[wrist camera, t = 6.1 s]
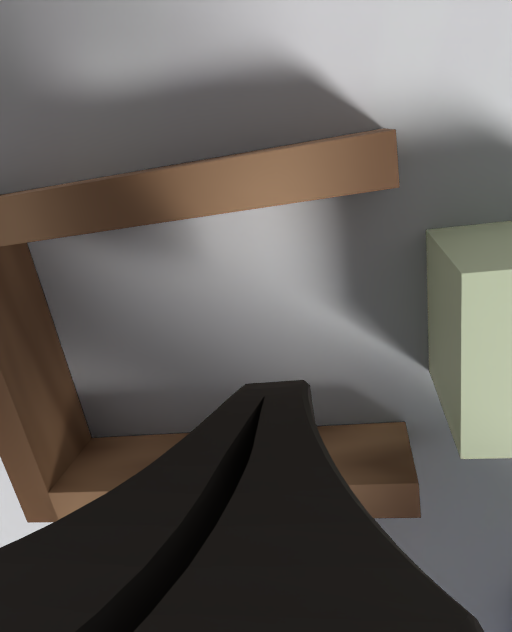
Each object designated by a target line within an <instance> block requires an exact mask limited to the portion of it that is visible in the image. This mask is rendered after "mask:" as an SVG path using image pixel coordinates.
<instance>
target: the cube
mask: <svg viewBox="0 0 512 632" xmlns="http://www.w3.org/2000/svg"><path fill="white" fill-rule="evenodd" d="M426 252H427V301H428V350H429V372H430V375H431V378H432V380H433V383H434V386H435V389H436V392H437V394H438V397H439V400H440V403H441V406H442V408H443V411H444V414H445V417H446V419H447V422H448V425H449V428H450V431H451V433H452V436H453V439H454V442H455V445H456V447H457V450H458V453H459V456H460V458H461V459H494V458H512V221H503V222H494V223H484V224H475V225H465V226H456V227H446V228H437V229H427V230H426Z"/></svg>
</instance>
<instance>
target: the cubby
mask: <svg viewBox="0 0 512 632" xmlns="http://www.w3.org/2000/svg"><path fill="white" fill-rule="evenodd" d="M392 188H399V172H398V157H397V141H396V130H395V129H385V128H383V129H377V130H372V131H366V132H360V133H354V134H349V135H343V136H337V137H331V138H326V139H320V140H314V141H308V142H302V143H297V144H291V145H285V146H279V147H274V148H268V149H262V150H256V151H251V152H245V153H239V154H233V155H227V156H222V157H216V158H210V159H204V160H199V161H193V162H187V163H181V164H176V165H170V166H164V167H158V168H152V169H147V170H141V171H135V172H129V173H124V174H118V175H112V176H106V177H101V178H95V179H89V180H83V181H77V182H72V183H66V184H60V185H54V186H49V187H43V188H37V189H31V190H26V191H20V192H14V193H8V194H2V195H0V457H1V459H2V462H3V464H4V466H5V469H6V471H7V474H8V476H9V478H10V481H11V483H12V486H13V488H14V491H15V493H16V495H17V498H18V500H19V503H20V505H21V508H22V510H23V512H24V515H25V517H26V520H27V522H56V521H57V520H59V519H61V518H63V517H65V516H66V515H68V514H70V513H72V512H74V511H75V510H77V509H79V508H81V507H83V506H84V505H86V504H88V503H90V502H92V501H93V500H95V499H97V498H99V497H101V496H102V495H104V494H106V493H107V492H109V491H111V490H112V489H114V488H115V487H117V486H118V485H120V484H121V483H123V482H125V481H126V480H128V479H129V478H131V477H132V476H134V475H135V474H137V473H138V472H140V471H141V470H143V469H144V468H145V467H147V466H148V465H150V464H151V463H152V462H154V461H155V460H156V459H158V458H159V457H160V456H162V455H163V454H164V453H165V452H167V451H168V450H169V449H170V448H172V447H173V446H174V445H175V444H177V443H178V442H179V441H180V440H182V439H183V438H184V437H185V436H187V435H188V434H189V433H178V434H159V435H140V436H120V437H101V438H91V435H90V432H89V429H88V426H87V423H86V420H85V417H84V414H83V411H82V408H81V404H80V401H79V398H78V395H77V392H76V389H75V386H74V383H73V380H72V377H71V374H70V371H69V368H68V365H67V362H66V359H65V356H64V353H63V350H62V347H61V344H60V341H59V338H58V335H57V332H56V329H55V326H54V323H53V320H52V317H51V314H50V311H49V308H48V305H47V302H46V299H45V296H44V293H43V290H42V287H41V284H40V281H39V278H38V275H37V272H36V269H35V266H34V263H33V260H32V257H31V254H30V251H29V248H28V245H27V242H34V241H41V240H47V239H54V238H61V237H68V236H74V235H81V234H88V233H95V232H101V231H108V230H115V229H122V228H128V227H135V226H142V225H149V224H155V223H162V222H169V221H176V220H183V219H189V218H196V217H203V216H210V215H216V214H223V213H230V212H237V211H243V210H250V209H257V208H264V207H270V206H277V205H284V204H291V203H297V202H304V201H311V200H318V199H324V198H331V197H338V196H345V195H351V194H358V193H365V192H372V191H378V190H385V189H392ZM317 428H318V431H319V433H320V436H321V438H322V440H323V442H324V444H325V446H326V448H327V450H328V452H329V454H330V456H331V458H332V460H333V461H334V463H335V465H336V467H337V468H338V470H339V472H340V473H341V475H342V476H343V478H344V479H345V481H346V482H347V484H348V485H349V487H350V488H351V490H352V491H353V493H354V494H355V495H356V497H357V498H358V499H359V501H360V502H361V504H362V505H363V506H364V508H365V509H366V510H367V511H368V513H369V514H370V515H371V516H372V517H373V518H421V512H420V496H419V483H418V478H417V473H416V469H415V464H414V460H413V455H412V451H411V446H410V442H409V437H408V432H407V428H406V423H405V422H392V423H373V424H353V425H334V426H317Z"/></svg>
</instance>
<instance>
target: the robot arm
mask: <svg viewBox="0 0 512 632" xmlns="http://www.w3.org/2000/svg"><path fill="white" fill-rule="evenodd" d="M0 632H484V631H483V629H482V627H481V625H480V624H479V622H478V620H477V619H476V618H475V617H474V616H473V615H472V614H470V613H469V612H468V611H467V610H466V609H465V608H463V607H462V606H461V605H460V604H459V603H458V602H456V601H455V600H454V599H453V598H452V597H450V596H449V595H448V594H447V593H446V592H445V591H444V590H443V589H442V588H440V587H439V586H438V585H437V584H436V583H435V582H434V581H433V580H432V579H431V578H429V577H428V576H427V575H426V574H425V573H424V572H423V571H422V570H421V569H420V568H419V567H418V566H417V565H416V564H415V563H414V562H413V561H412V560H411V559H410V558H409V557H408V556H407V555H406V554H405V553H404V552H403V551H402V550H401V549H400V548H399V547H398V546H397V545H396V544H395V542H394V541H393V540H392V539H391V538H390V537H389V536H388V534H387V533H386V532H385V531H384V530H383V529H382V528H381V526H380V525H379V524H378V523H377V522H376V521H375V519H374V518H373V517H372V516H371V515H370V514H369V513H368V511H367V510H366V509H365V508H364V506H363V505H362V504H361V502H360V501H359V499H358V498H357V497H356V495H355V494H354V493H353V491H352V490H351V488H350V487H349V485H348V484H347V482H346V481H345V479H344V478H343V476H342V475H341V473H340V472H339V470H338V468H337V467H336V465H335V463H334V461H333V460H332V458H331V456H330V454H329V452H328V450H327V448H326V446H325V444H324V442H323V440H322V438H321V436H320V433H319V431H318V428H317V426H316V423H315V418H314V411H313V404H312V397H311V390H310V385H309V384H308V383H307V382H306V381H304V380H296V381H282V382H268V383H253V384H245V385H244V386H243V387H241V388H240V389H239V390H238V391H237V392H235V393H234V394H233V395H232V396H231V397H230V398H229V399H228V400H227V401H225V402H224V403H223V404H222V405H221V406H220V407H219V408H218V409H217V410H215V411H214V412H213V413H212V414H211V415H210V416H209V417H208V418H206V419H205V420H204V421H203V422H202V423H201V424H200V425H199V426H197V427H196V428H195V429H194V430H193V431H192V432H190V433H189V434H188V435H187V436H185V437H184V438H183V439H182V440H180V441H179V442H178V443H177V444H175V445H174V446H173V447H172V448H170V449H169V450H168V451H167V452H165V453H164V454H163V455H162V456H160V457H159V458H158V459H156V460H155V461H154V462H152V463H151V464H150V465H148V466H147V467H145V468H144V469H143V470H141V471H140V472H138V473H137V474H135V475H134V476H132V477H131V478H129V479H128V480H126V481H125V482H123V483H121V484H120V485H118V486H117V487H115V488H114V489H112V490H111V491H109V492H107V493H106V494H104V495H102V496H101V497H99V498H97V499H95V500H93V501H92V502H90V503H88V504H86V505H84V506H83V507H81V508H79V509H77V510H75V511H74V512H72V513H70V514H68V515H66V516H65V517H63V518H61V519H59V520H57V521H56V522H54V523H52V524H50V525H48V526H46V527H44V528H42V529H40V530H37V531H35V532H33V533H31V534H29V535H27V536H25V537H23V538H21V539H19V540H17V541H14V542H12V543H10V544H8V545H6V546H3V547H1V548H0Z"/></svg>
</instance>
